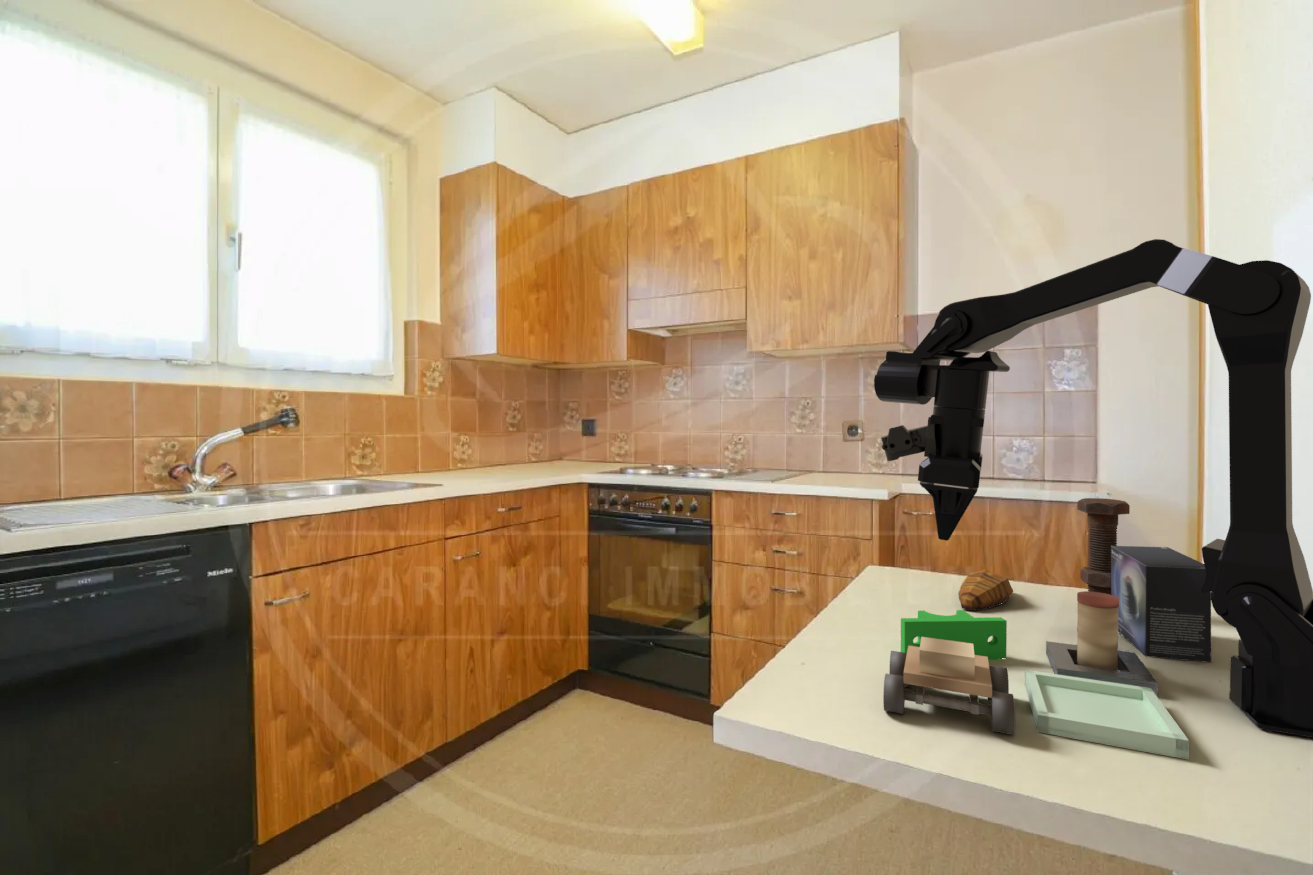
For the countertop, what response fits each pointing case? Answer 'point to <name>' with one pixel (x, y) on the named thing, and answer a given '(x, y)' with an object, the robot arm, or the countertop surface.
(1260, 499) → the robot arm
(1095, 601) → the pin
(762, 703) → the countertop surface
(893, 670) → the toy car
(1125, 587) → the small box
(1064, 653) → the socket
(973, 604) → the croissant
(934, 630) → the pipe clamp
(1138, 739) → the tray
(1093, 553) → the bolt
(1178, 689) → the countertop surface
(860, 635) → the countertop surface
